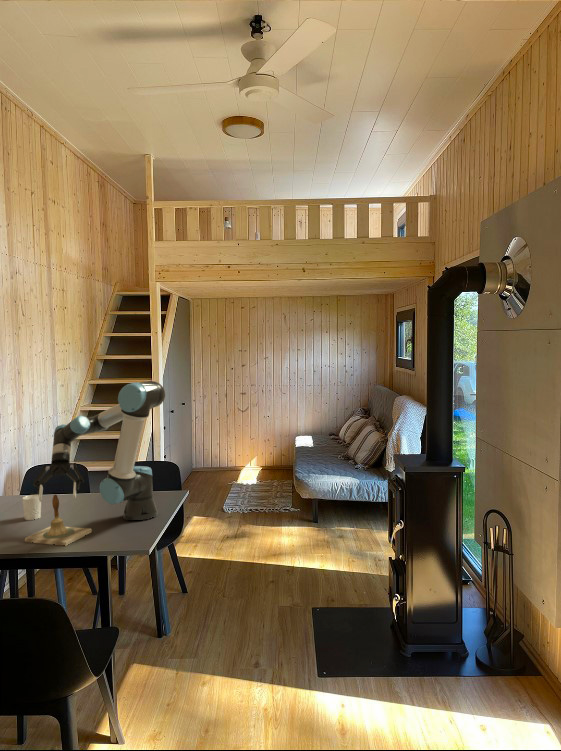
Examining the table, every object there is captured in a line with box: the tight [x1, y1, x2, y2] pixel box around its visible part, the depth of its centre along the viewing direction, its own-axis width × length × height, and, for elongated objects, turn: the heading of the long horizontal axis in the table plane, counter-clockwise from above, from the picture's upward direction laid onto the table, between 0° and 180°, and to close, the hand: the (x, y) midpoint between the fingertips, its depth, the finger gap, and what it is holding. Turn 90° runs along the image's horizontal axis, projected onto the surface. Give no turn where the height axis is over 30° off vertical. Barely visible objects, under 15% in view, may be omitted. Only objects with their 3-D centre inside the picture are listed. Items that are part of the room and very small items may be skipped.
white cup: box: [22, 494, 42, 521], centre depth 252 cm, size 8×8×10 cm
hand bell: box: [47, 494, 68, 536], centre depth 224 cm, size 8×8×16 cm
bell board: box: [24, 525, 93, 547], centre depth 225 cm, size 20×16×2 cm
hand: (57, 498), depth 229 cm, fingers open, 13 cm apart
